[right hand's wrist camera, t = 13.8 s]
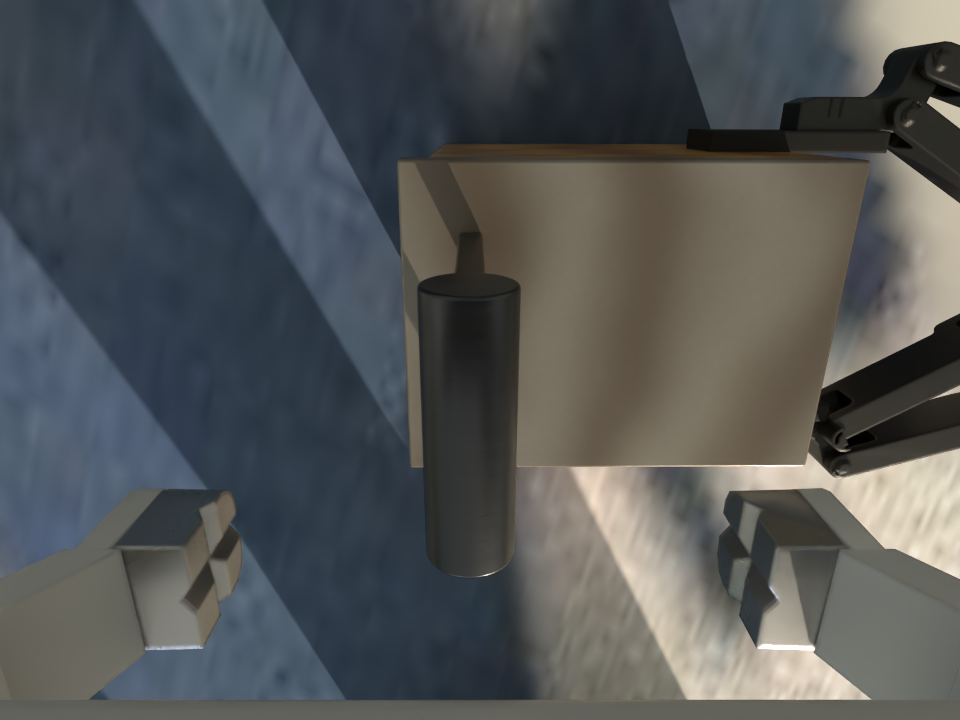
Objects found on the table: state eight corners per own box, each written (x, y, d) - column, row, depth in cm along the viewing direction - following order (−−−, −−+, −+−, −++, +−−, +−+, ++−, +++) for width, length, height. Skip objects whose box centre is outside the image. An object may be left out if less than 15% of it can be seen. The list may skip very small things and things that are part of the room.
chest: (446, 346, 34) (434, 449, 23) (443, 143, 30) (427, 157, 19) (690, 346, 34) (788, 448, 23) (717, 144, 30) (846, 157, 20)
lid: (413, 450, 23) (377, 648, 14) (401, 156, 19) (342, 187, 11) (788, 449, 23) (974, 645, 15) (847, 157, 19) (1143, 189, 11)
